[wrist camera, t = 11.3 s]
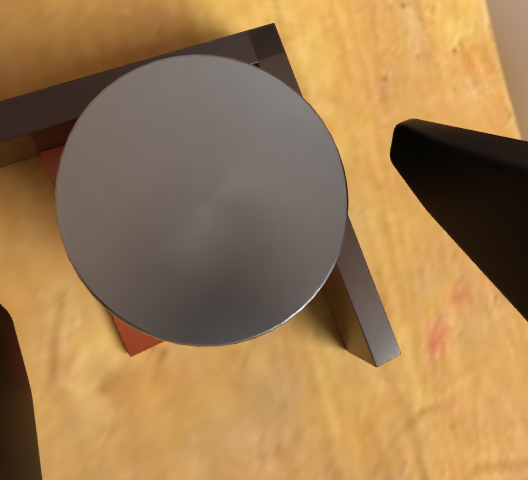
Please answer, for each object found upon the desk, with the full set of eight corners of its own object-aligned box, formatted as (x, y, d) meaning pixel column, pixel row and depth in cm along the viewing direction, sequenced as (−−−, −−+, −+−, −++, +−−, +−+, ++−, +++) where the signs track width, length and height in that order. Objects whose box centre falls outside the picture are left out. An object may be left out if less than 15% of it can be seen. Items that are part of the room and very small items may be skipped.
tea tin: (271, 271, 17) (378, 295, 9) (133, 314, 16) (106, 391, 7) (234, 138, 17) (310, 32, 8) (90, 169, 15) (11, 80, 7)
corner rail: (369, 339, 18) (401, 353, 16) (134, 465, 16) (130, 505, 13) (258, 53, 17) (274, 21, 15) (-16, 136, 15) (-50, 114, 12)
